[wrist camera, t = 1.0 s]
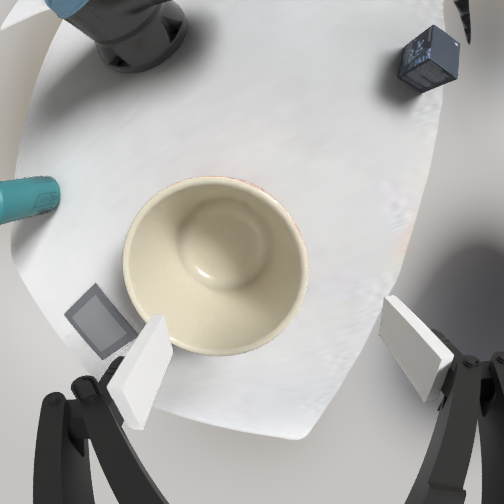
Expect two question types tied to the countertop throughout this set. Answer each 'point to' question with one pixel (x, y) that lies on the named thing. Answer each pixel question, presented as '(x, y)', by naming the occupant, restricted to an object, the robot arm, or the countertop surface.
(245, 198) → the planter
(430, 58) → the box
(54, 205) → the beverage bottle
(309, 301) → the countertop surface
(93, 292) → the slate mat
